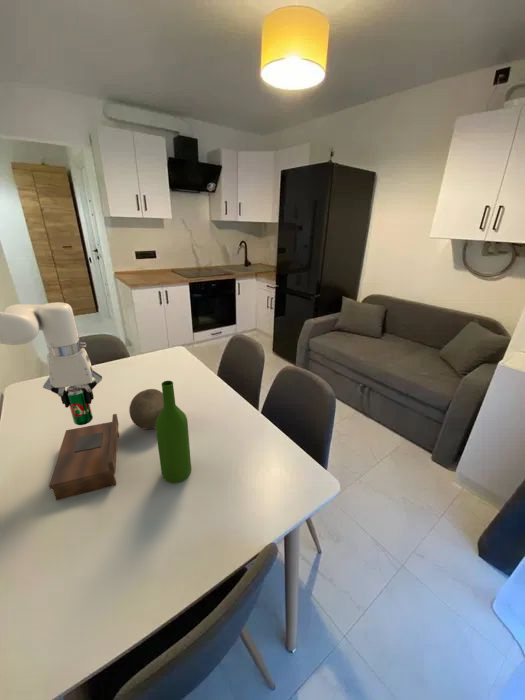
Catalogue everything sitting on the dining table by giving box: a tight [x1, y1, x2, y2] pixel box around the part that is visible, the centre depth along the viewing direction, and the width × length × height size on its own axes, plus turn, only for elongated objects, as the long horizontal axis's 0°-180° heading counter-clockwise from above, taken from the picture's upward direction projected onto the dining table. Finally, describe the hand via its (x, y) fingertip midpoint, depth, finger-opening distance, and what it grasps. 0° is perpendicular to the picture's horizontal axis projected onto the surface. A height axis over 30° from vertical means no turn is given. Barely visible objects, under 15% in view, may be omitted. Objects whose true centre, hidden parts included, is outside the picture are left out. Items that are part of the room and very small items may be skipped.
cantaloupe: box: [128, 388, 164, 430], centre depth 108 cm, size 14×14×15 cm
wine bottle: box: [154, 380, 192, 484], centre depth 85 cm, size 9×9×32 cm
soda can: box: [66, 385, 94, 426], centre depth 87 cm, size 5×5×12 cm
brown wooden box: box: [48, 413, 120, 501], centre depth 92 cm, size 16×24×9 cm, turn 22°
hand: (79, 402), depth 87 cm, fingers closed on soda can, 5 cm apart
